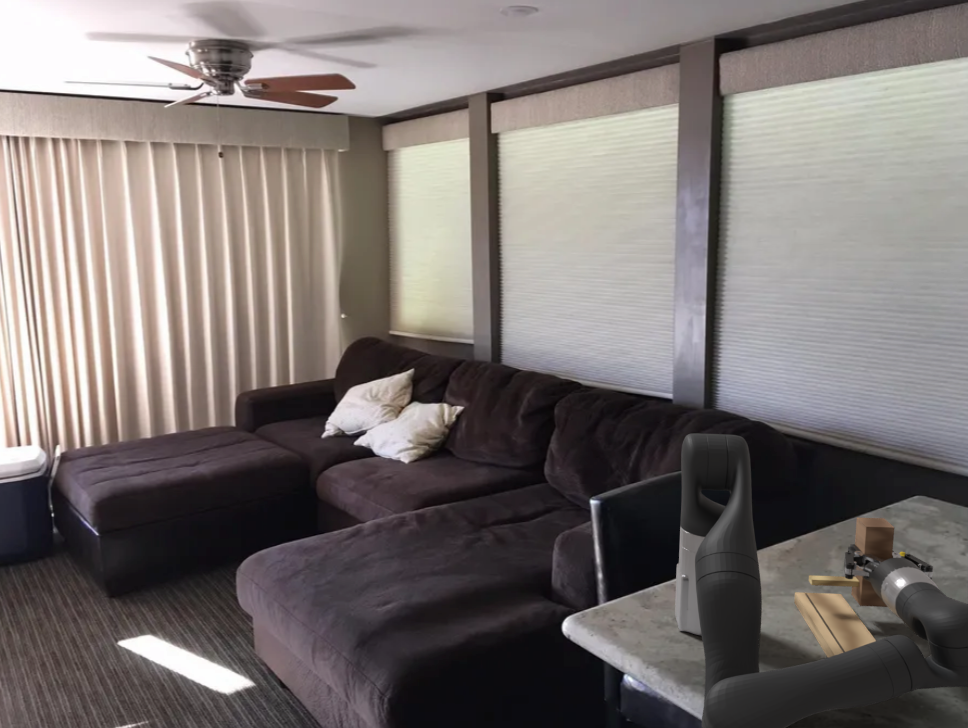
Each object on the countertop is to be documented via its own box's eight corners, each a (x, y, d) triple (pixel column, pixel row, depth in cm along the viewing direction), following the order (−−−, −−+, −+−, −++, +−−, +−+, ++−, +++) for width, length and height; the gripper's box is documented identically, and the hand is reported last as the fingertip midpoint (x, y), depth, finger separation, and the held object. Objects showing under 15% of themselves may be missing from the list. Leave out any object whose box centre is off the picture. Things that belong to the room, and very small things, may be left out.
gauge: (813, 604, 141) (818, 525, 139) (805, 592, 145) (810, 516, 143) (888, 607, 140) (894, 527, 137) (878, 595, 144) (884, 518, 142)
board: (841, 679, 124) (842, 666, 124) (794, 602, 149) (795, 591, 149) (897, 682, 123) (898, 669, 123) (840, 604, 149) (841, 593, 148)
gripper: (857, 612, 128) (823, 569, 145) (954, 616, 126) (908, 572, 143) (860, 566, 127) (825, 527, 143) (958, 569, 125) (912, 530, 142)
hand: (867, 550), depth 143 cm, fingers closed on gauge, 4 cm apart
